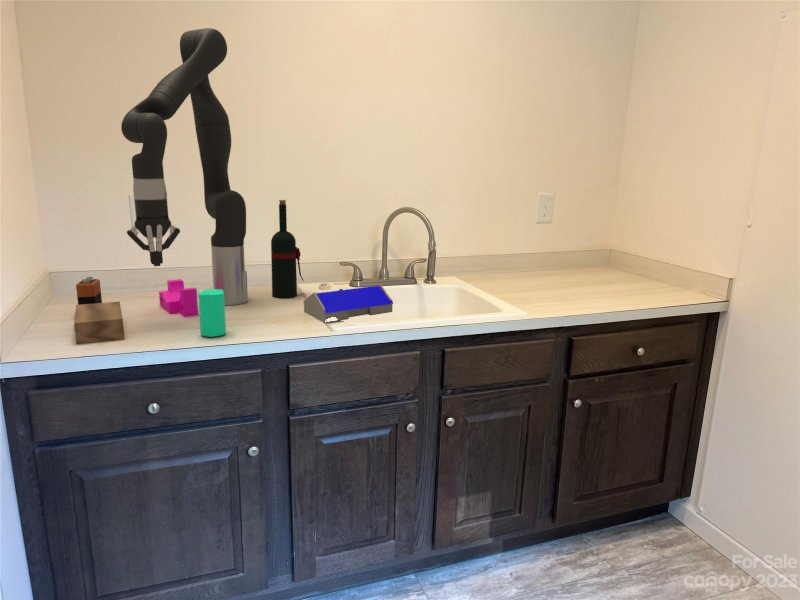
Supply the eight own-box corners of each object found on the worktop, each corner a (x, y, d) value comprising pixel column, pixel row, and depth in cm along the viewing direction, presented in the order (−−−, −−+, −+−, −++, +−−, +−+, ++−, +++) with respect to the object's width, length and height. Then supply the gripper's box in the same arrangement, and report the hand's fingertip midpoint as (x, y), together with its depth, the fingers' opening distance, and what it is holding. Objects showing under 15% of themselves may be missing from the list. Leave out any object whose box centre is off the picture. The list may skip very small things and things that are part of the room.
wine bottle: (307, 297, 182) (306, 201, 175) (275, 300, 178) (272, 201, 171) (300, 292, 189) (299, 199, 182) (269, 294, 185) (266, 199, 177)
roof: (368, 303, 179) (368, 280, 177) (393, 313, 168) (394, 289, 166) (303, 312, 166) (302, 287, 165) (325, 324, 155) (325, 297, 153)
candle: (216, 328, 148) (214, 282, 145) (230, 332, 145) (228, 285, 142) (195, 333, 144) (192, 285, 141) (209, 338, 140) (206, 289, 137)
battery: (78, 317, 154) (74, 281, 152) (86, 311, 160) (82, 275, 158) (96, 317, 155) (93, 280, 153) (103, 310, 161) (99, 275, 159)
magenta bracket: (160, 306, 168) (158, 281, 166) (182, 303, 172) (180, 279, 170) (174, 318, 156) (173, 291, 155) (198, 315, 160) (196, 289, 158)
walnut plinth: (121, 319, 153) (119, 301, 152) (124, 339, 138) (122, 318, 136) (78, 323, 149) (76, 304, 147) (76, 344, 133) (74, 323, 132)
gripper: (176, 195, 150) (182, 261, 155) (120, 196, 144) (127, 265, 149) (180, 197, 144) (186, 266, 148) (122, 199, 138) (129, 270, 142)
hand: (156, 265), depth 148 cm, fingers closed
